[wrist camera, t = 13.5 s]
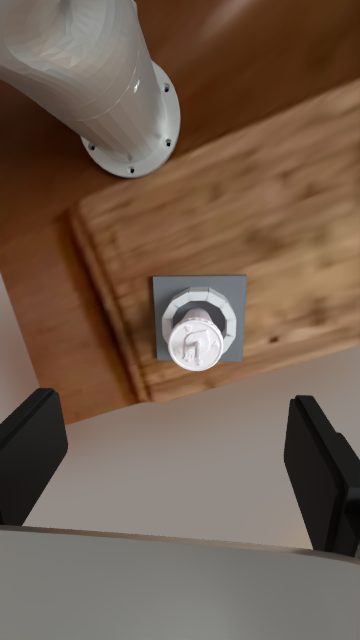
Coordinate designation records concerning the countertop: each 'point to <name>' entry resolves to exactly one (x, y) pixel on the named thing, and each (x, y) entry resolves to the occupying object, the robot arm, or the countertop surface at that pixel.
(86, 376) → the countertop surface
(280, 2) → the countertop surface
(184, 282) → the holder
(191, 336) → the smoothie
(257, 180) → the countertop surface
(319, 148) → the countertop surface
